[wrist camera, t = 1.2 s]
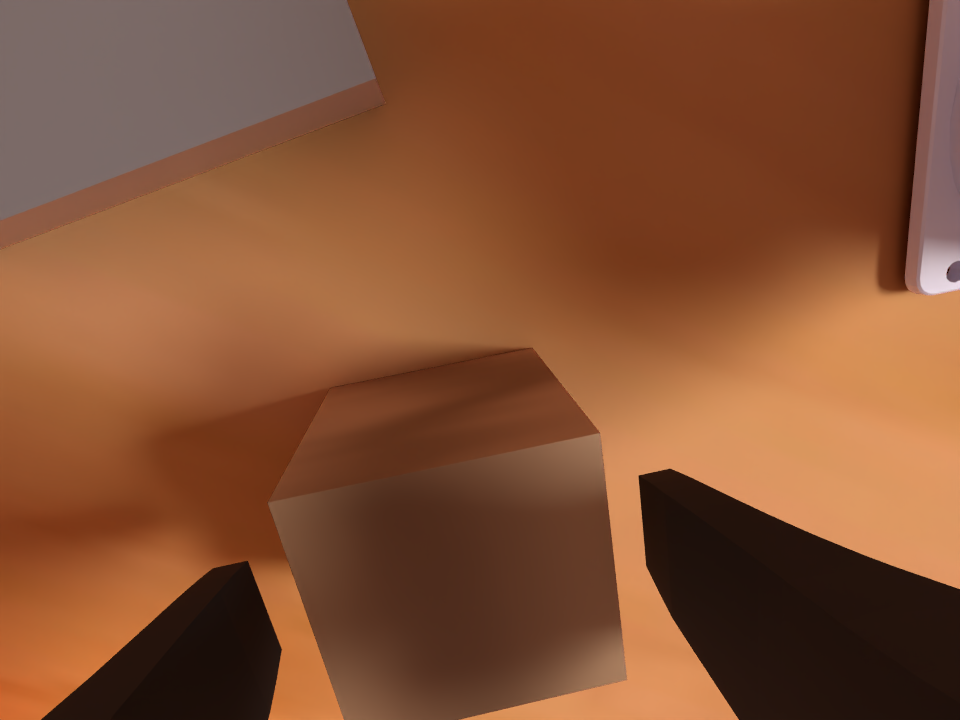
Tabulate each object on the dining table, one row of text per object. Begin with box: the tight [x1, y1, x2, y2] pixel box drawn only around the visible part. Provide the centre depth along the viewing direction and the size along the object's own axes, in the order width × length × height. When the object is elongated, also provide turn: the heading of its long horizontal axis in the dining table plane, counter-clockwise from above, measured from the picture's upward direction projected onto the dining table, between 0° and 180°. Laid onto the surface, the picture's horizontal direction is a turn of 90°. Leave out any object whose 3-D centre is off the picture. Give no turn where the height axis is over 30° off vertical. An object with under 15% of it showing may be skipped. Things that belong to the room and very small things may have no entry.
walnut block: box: [267, 348, 627, 720], centre depth 10 cm, size 5×5×5 cm
